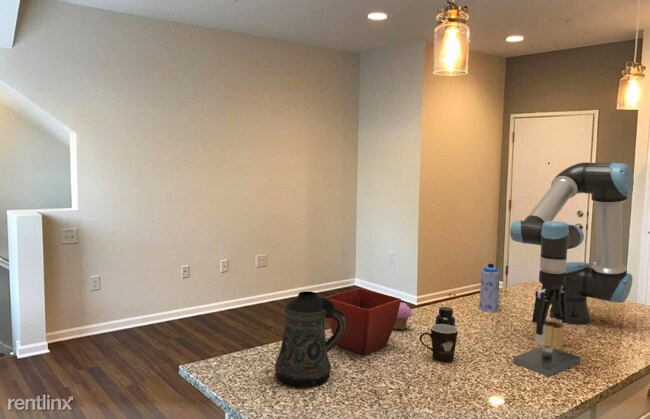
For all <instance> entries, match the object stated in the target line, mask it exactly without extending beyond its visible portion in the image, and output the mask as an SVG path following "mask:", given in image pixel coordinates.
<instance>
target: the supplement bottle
mask: <svg viewBox="0 0 650 419" xmlns="http://www.w3.org/2000/svg"><path fill="white" fill-rule="evenodd" d="M434 322H435V324H434V325H437V324H445V325H451V326H454V327H456V318H455V317H454V309H453V308H451V307H449V306H440V307H439V308H438V314H437V315H436V317H435V320H434Z"/></svg>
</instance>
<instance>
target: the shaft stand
mask: <svg viewBox="0 0 650 419" xmlns="http://www.w3.org/2000/svg"><path fill="white" fill-rule="evenodd" d="M512 363H513V364H514V365H518V366H520V367H522V368H525V369H527V370H528V369H529V370H530V371H533V372H536V373H538V374H541V375H543V376H546V377H551V376H553V375H555V374H558V373H560V372H562V371H563V372H564V371H565V370H567V369H570V368H572V367H575V366H577V365H579V364H581V356H578V355H574V354H573V353H572V354H571V353H570V352H565V351H564V350H559V349H558V348H555V347H550V346H543V345H542V346H541V347H539V348H535V349H532V350H529V351H525V352H524V353H520V354H518V355H515V356H513V362H512Z"/></svg>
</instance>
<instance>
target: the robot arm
mask: <svg viewBox="0 0 650 419" xmlns="http://www.w3.org/2000/svg"><path fill="white" fill-rule="evenodd" d="M634 182H635V181H634V175H633V171H632V169H631V168H630V166H629V165H628V164H626V163H619V162H618V163H617V162H577V163H574V164H573V165H571V166H568V167H567V168H565V169H563V170H562V171H560V172H559V173H558V174H557V175H556V176H555V177H554V178H553V179H552V181H551V184H550V187H549V189H548V190H547V191H546V192H545V193H544V195H543V196H542V198H541V199H540V200H539V201H538V203H537V204H536V205H535V206H534V208H533V209H532V210H531V211H530V212H529V214H528V215H527V216H526V217H525V219H523V220H521V219H520V220H514V221H513V222H512V223H511V225H510V228H509V236H510V238H511V240H512V241H513V242H516V243H522V244H530V245H537V246H540V257H539V258H540V259H539V261H540V263H539V269H540V270H539V271H538V272H539V275H538V281H539V283H541V284H542V287H541V290H540V291H539V290H535V292H534V293H535V294H534V295H535V299H534V300H535V301H534V306H533V313H532V318H531V321H532V323H534V324H535V323H536V324H537V327H536V342H535V344H538V345H541V346H542V347H543V346H544V345H545V337H546V325H545V320H547V316H548V313H549V318H551V319H552V321H556V322H560V323H561V324H563V323H565V324H573V325H585V324H590V322H591V318H592V317H591V312H590V309H589V305H588V302H587V301H588V298H592V299H596V300H601V301H606V302H610V303H617V304H618V303H620V304H621V303H625V301H626V300H627V299H628V297H629V294H630V291H631V289H632V285H633V275H632V274H631V273H629V272H627V271H628V270H627V269H628V268H627V266H626V265H625V264H623V204H624V203H625V202H626V201H627V200H628V197H629V196H631V195H632V194H633V191H634V186H635V184H634ZM576 194H589V195H591V201H592V202H593V203H594V204H595V206H596V207H595V215H596V216H595V234H596V235H595V236H596V238H595V239H596V240H595V241H596V243H595V244H596V247H595V248H596V249H595V251H596V252H595V254H596V255H595V256H596V258H595V259H596V262H595V263H593V264H592V266H591V267H590V263H588V262H583V261H578V262H577V261H571V262H567V260H568V259H567V257H568V250H570V249H575V248H576V247H579V246H580V245H581V244H582V243H583V241H584V239H585V238H584V237H585V236H584V235H585V234H584V231H583V229H581V228H580V227H579V225H578V226H577V225H576V224H568V223H567V222H563V221H554V220H555V218H556V217H557V215H558V214H560V211H561V210H562V208H563V207H564V206H565V205H566V203H567V202H568V201H569V199H571V198H574V197H575V196H576Z"/></svg>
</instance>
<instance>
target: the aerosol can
mask: <svg viewBox="0 0 650 419" xmlns="http://www.w3.org/2000/svg"><path fill="white" fill-rule="evenodd" d="M500 274H501V273H500V270H499V269H498V268H497V267H495V265H494V263H488V264H487V266H486V267H483V269H482V270H481V273H480V294H479V308H478V309H479V310H480V311H481V312H485V313H497V312H498V311H499V294H500V292H499V291H500Z"/></svg>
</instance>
